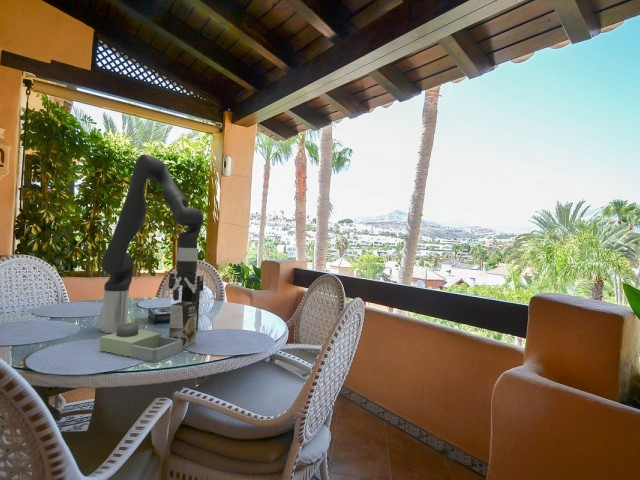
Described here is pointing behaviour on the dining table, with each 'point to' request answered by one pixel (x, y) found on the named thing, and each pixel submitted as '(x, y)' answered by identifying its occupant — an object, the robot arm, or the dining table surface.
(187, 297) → the wine bottle
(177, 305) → the coffee box
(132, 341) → the green and grey tray
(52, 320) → the dining table surface
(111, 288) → the robot arm
